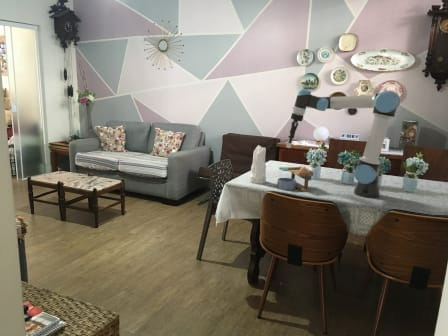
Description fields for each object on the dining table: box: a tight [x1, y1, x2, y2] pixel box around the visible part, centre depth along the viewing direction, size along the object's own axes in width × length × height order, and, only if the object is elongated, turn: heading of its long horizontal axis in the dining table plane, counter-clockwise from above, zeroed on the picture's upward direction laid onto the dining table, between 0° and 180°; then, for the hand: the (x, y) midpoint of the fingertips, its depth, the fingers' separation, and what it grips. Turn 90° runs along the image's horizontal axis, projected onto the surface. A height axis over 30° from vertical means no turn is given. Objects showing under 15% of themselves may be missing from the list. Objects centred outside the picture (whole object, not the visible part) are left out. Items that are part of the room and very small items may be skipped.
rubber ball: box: [300, 166, 307, 172], centre depth 235 cm, size 4×4×4 cm
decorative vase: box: [249, 144, 267, 185], centre depth 247 cm, size 11×11×25 cm
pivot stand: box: [290, 173, 312, 193], centre depth 238 cm, size 20×6×10 cm, turn 17°
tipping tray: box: [278, 165, 314, 181], centre depth 240 cm, size 23×13×6 cm, turn 17°
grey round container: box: [276, 177, 297, 191], centre depth 236 cm, size 11×11×6 cm
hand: (288, 145), depth 236 cm, fingers open, 13 cm apart
